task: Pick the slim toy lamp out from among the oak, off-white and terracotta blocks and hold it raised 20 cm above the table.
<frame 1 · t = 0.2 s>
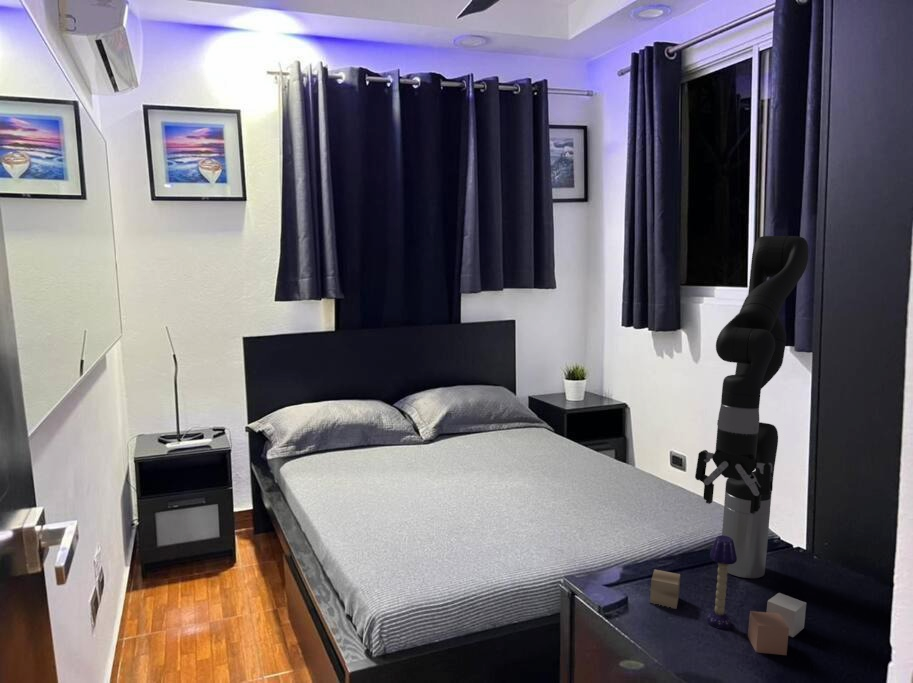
hand: (730, 507, 137), 18 cm above the dresser, tool pointing down, fingers open, 8 cm apart
oak block: (664, 600, 135), on the dresser
terracotta block: (766, 646, 120), on the dresser
off-white block: (784, 627, 127), on the dresser
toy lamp: (717, 624, 127), on the dresser
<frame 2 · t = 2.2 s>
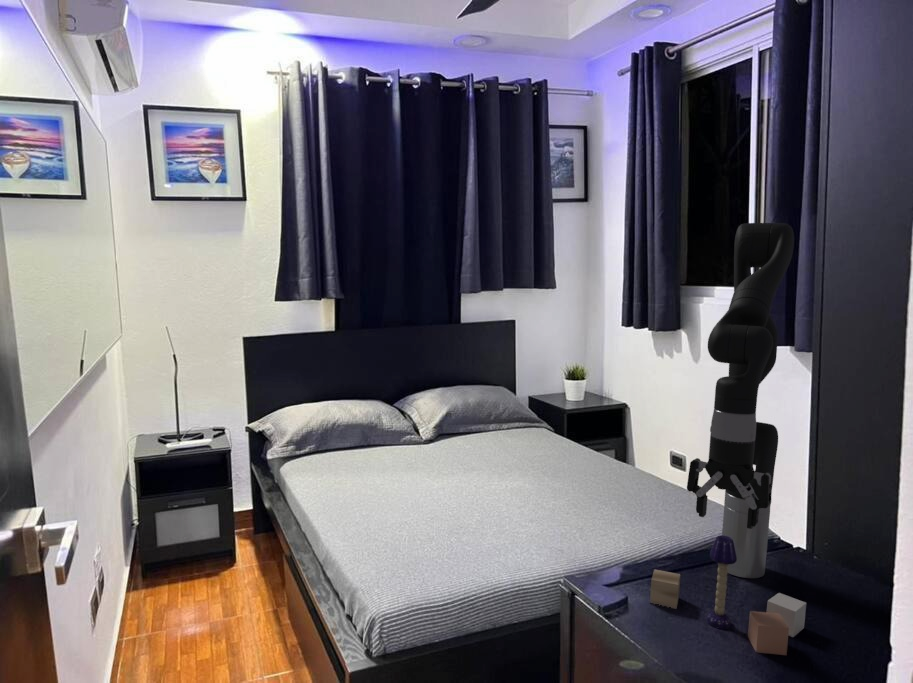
hand: (725, 521, 125), 20 cm above the dresser, tool pointing down, fingers open, 8 cm apart
nothing on the dresser moved.
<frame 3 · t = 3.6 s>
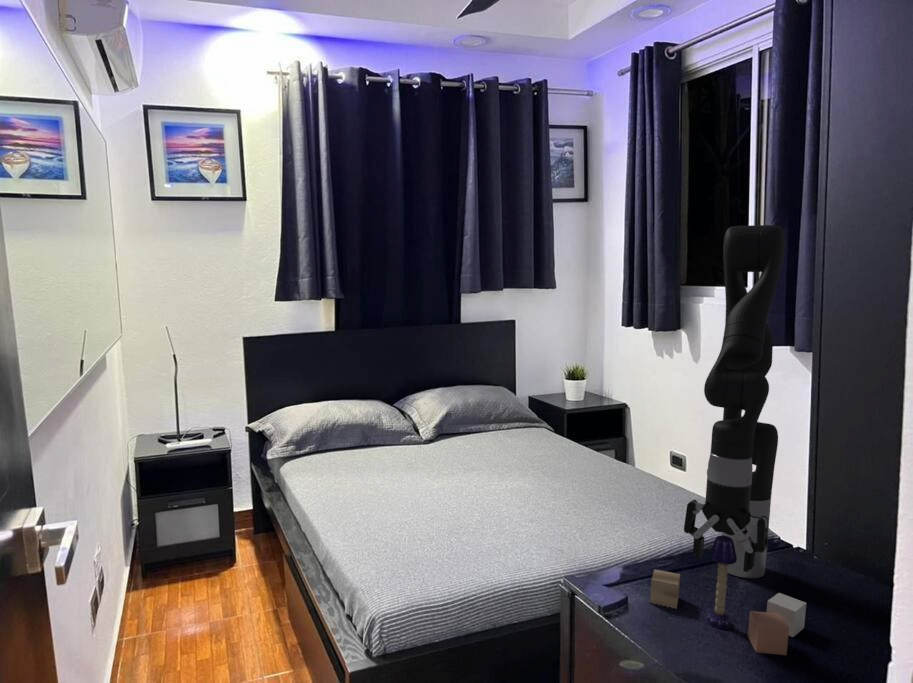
hand: (722, 563, 126), 12 cm above the dresser, tool pointing down, fingers open, 8 cm apart
nothing on the dresser moved.
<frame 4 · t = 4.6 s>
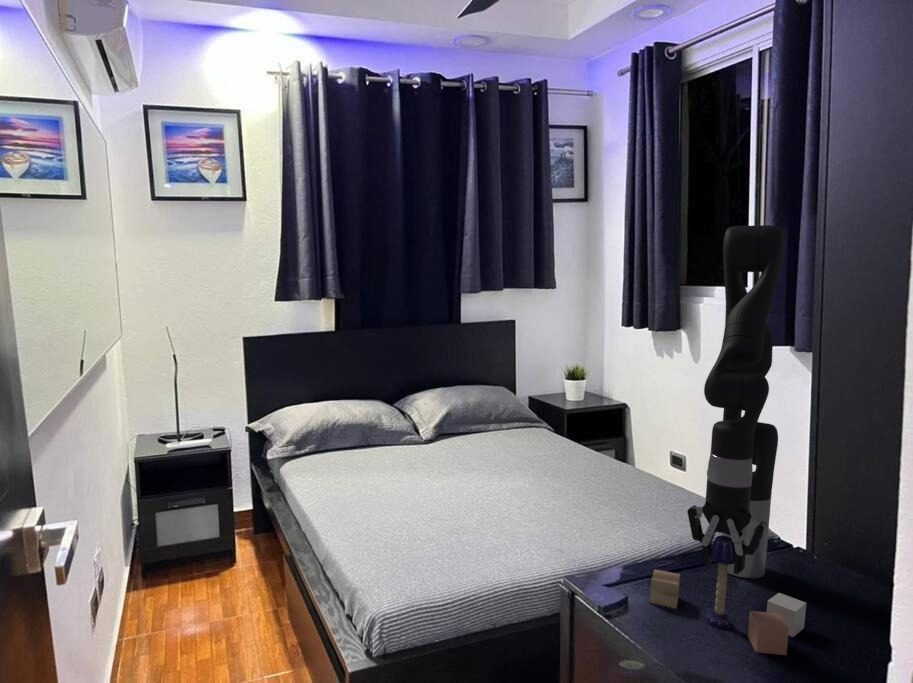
hand: (722, 568, 126), 11 cm above the dresser, tool pointing down, fingers closed on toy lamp, 4 cm apart
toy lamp: (717, 624, 127), on the dresser, touching gripper
everything else where it was.
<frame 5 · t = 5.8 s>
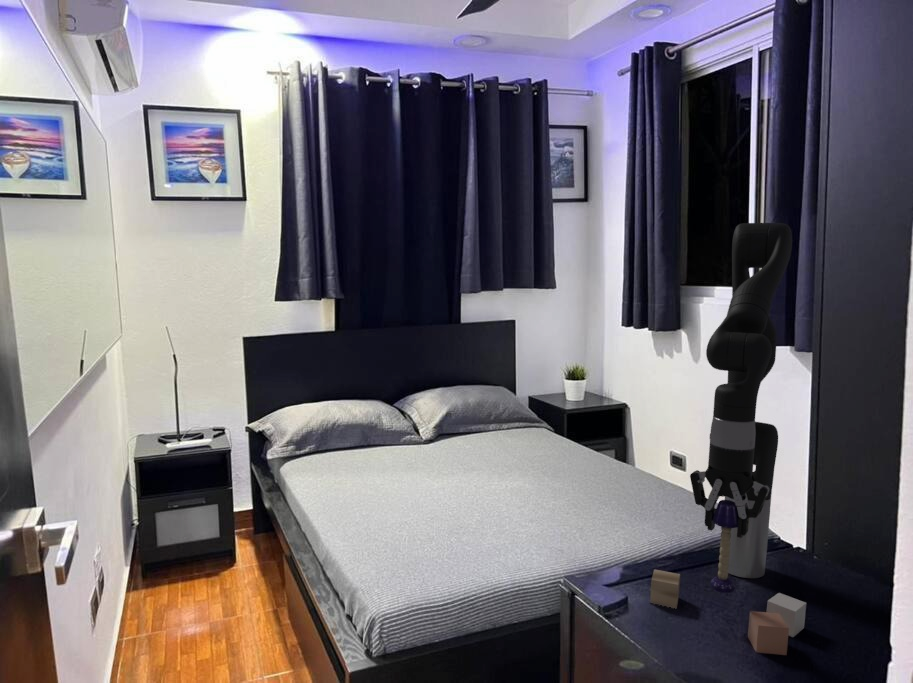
hand: (725, 532, 125), 18 cm above the dresser, tool pointing down, fingers closed on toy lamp, 4 cm apart
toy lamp: (721, 589, 127), point 7 cm above the dresser, touching gripper
everything else where it was.
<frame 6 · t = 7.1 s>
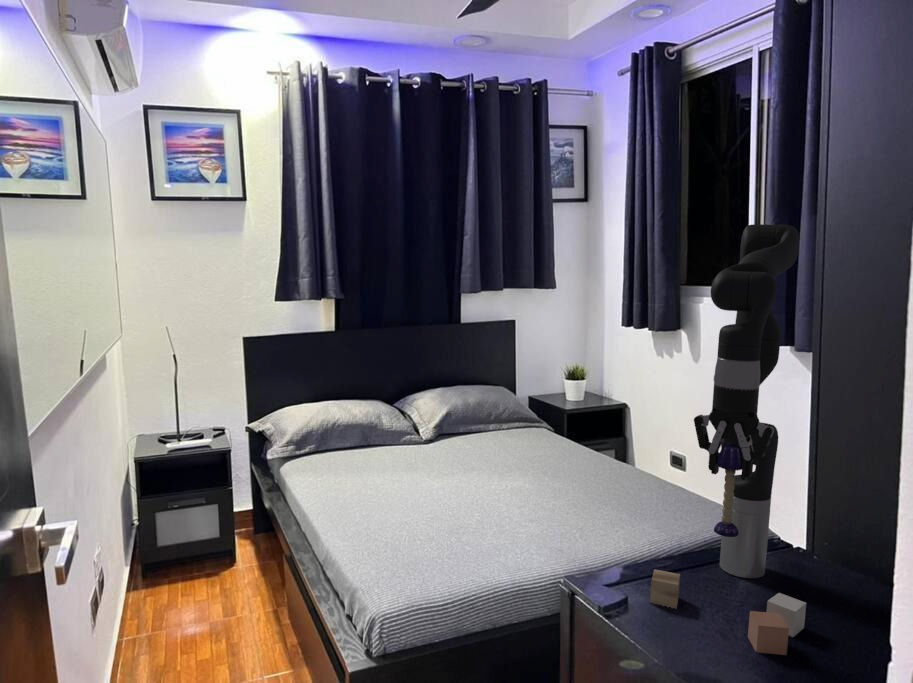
hand: (729, 475, 124), 28 cm above the dresser, tool pointing down, fingers closed on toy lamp, 4 cm apart
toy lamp: (725, 534, 125), point 17 cm above the dresser, touching gripper
everything else where it was.
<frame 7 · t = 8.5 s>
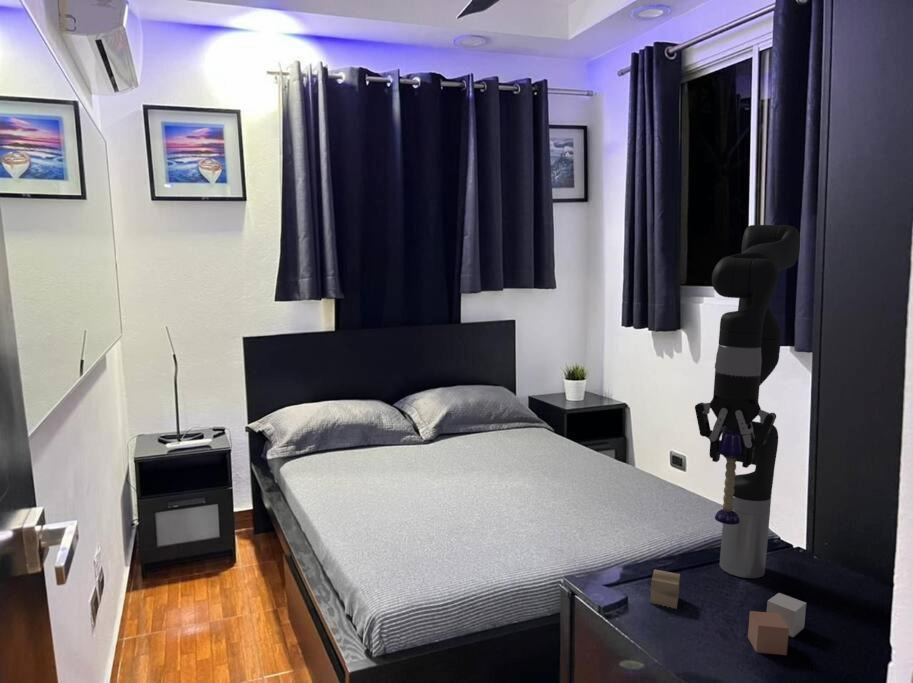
hand: (730, 463, 124), 31 cm above the dresser, tool pointing down, fingers closed on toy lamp, 4 cm apart
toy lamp: (726, 521, 125), point 20 cm above the dresser, touching gripper
everything else where it was.
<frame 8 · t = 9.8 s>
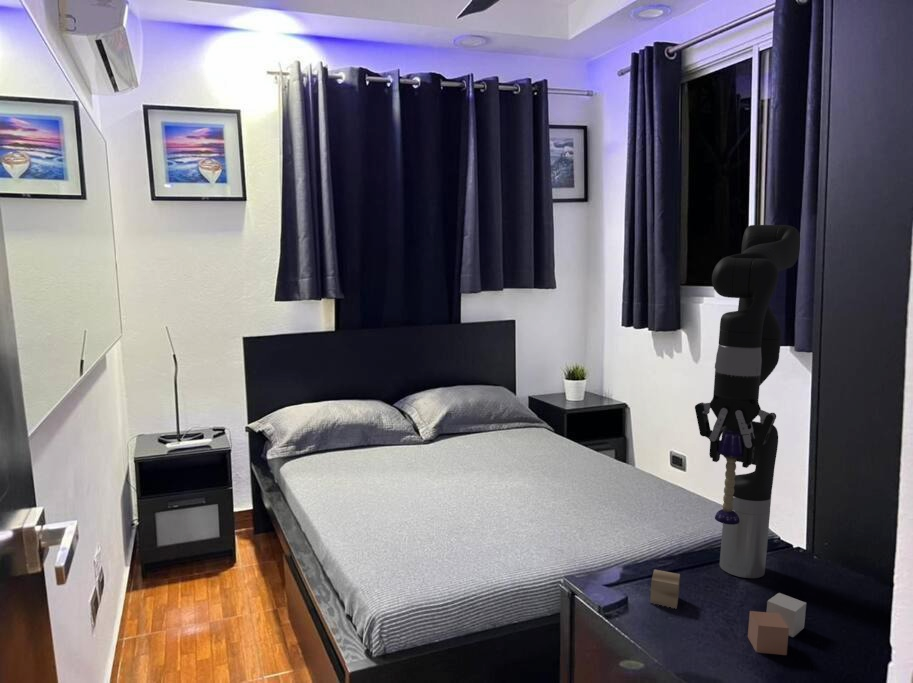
hand: (730, 463, 124), 31 cm above the dresser, tool pointing down, fingers closed on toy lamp, 4 cm apart
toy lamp: (726, 521, 125), point 20 cm above the dresser, touching gripper
everything else where it was.
at the end: the gripper is holding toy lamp; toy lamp point 19.7 cm above the dresser; oak block moved 0.1 cm from its start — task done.
